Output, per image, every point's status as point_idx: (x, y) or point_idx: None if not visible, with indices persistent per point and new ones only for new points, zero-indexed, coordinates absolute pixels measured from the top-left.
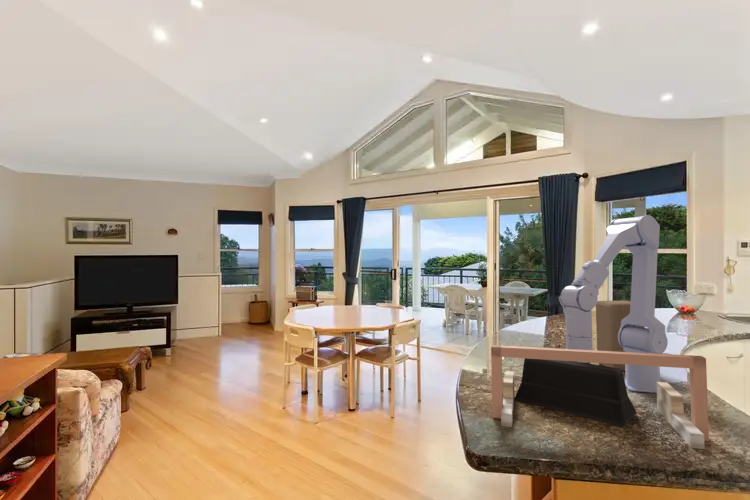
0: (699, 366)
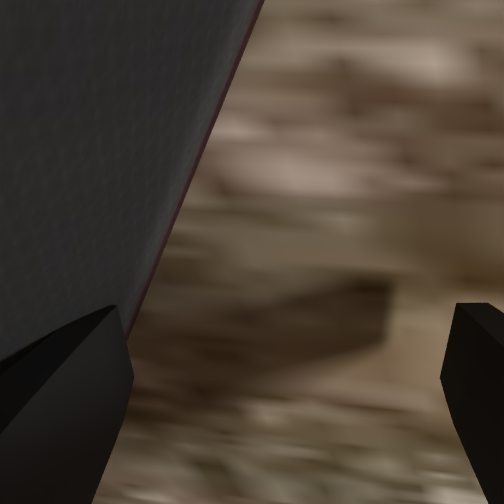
0: None
